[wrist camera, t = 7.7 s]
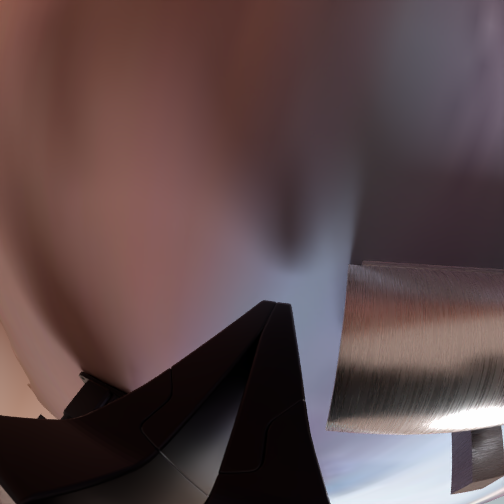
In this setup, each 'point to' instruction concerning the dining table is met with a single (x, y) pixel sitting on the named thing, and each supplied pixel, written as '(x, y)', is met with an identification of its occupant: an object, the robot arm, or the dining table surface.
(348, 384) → the tube
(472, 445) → the collar rig
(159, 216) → the dining table surface
